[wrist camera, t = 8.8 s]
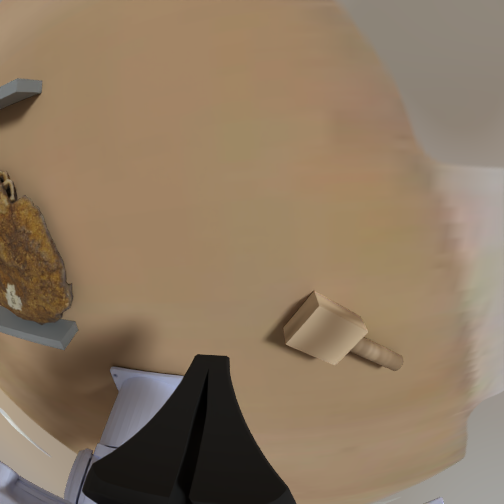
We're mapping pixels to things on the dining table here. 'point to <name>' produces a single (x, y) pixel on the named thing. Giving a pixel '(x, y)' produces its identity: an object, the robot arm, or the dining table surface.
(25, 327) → the grey bracket
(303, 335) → the wooden mallet
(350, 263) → the dining table surface
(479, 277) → the dining table surface
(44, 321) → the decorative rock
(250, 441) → the robot arm
